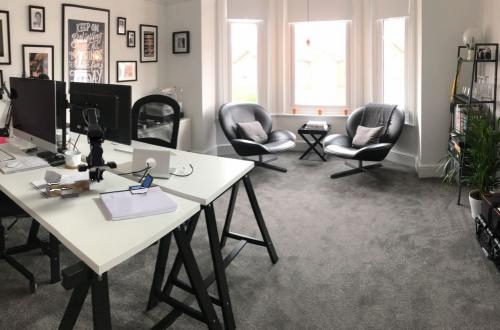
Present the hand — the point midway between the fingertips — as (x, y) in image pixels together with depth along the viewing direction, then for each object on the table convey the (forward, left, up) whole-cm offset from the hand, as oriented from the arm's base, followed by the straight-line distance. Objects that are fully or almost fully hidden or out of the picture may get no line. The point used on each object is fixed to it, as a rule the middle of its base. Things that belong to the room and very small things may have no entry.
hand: (98, 182), depth 224 cm
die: (+20, -18, -3) cm, 27 cm away
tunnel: (+17, 0, -3) cm, 17 cm away
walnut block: (+8, 0, -3) cm, 9 cm away
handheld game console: (-18, +14, -3) cm, 23 cm away
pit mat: (+15, +9, -3) cm, 18 cm away
